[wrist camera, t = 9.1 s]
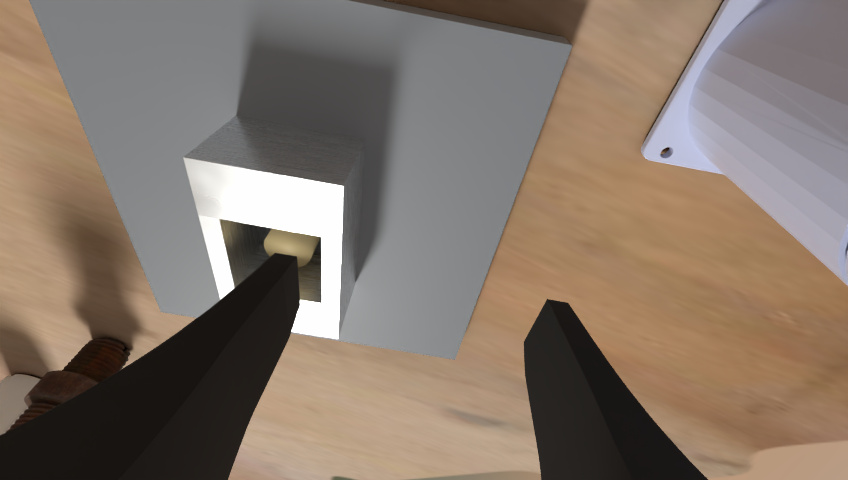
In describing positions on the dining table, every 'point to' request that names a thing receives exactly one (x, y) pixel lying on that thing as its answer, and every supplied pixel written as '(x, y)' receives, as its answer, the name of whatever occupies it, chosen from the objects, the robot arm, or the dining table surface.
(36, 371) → the dining table surface
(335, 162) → the block with square hole
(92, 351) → the bolt
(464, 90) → the pin board
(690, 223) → the dining table surface
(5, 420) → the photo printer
